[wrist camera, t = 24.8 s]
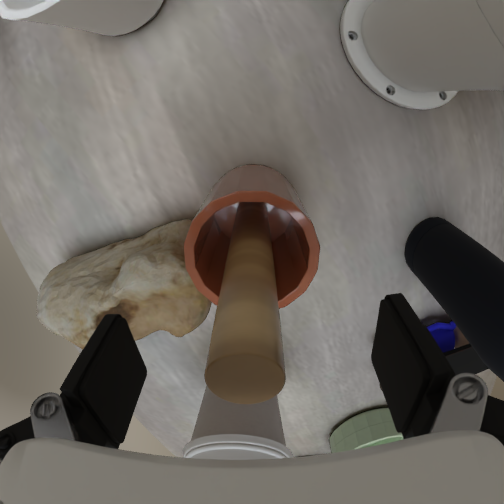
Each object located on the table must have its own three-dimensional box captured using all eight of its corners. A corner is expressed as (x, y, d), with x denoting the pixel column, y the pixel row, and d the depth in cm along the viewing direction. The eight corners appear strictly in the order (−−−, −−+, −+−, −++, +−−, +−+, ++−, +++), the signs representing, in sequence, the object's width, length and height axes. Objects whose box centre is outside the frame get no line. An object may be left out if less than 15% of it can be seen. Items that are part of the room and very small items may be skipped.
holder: (229, 150, 24) (211, 168, 15) (312, 186, 25) (343, 225, 16) (197, 229, 27) (168, 287, 18) (274, 260, 28) (282, 329, 19)
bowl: (361, 399, 37) (371, 432, 32) (420, 407, 39) (432, 435, 34) (313, 444, 42) (317, 474, 37) (372, 449, 44) (379, 475, 39)
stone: (154, 159, 24) (101, 184, 15) (241, 255, 28) (234, 322, 19) (60, 266, 29) (8, 316, 20) (131, 336, 33) (101, 401, 23)
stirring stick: (243, 192, 25) (220, 342, 8) (272, 204, 25) (300, 367, 9) (231, 219, 26) (194, 392, 9) (260, 231, 26) (264, 411, 10)
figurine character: (372, 361, 36) (472, 335, 32) (382, 407, 29) (492, 373, 26) (371, 323, 33) (479, 296, 30) (384, 371, 26) (506, 334, 23)
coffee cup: (297, 372, 34) (311, 484, 21) (229, 395, 36) (220, 499, 23) (259, 317, 31) (260, 446, 17) (184, 348, 33) (155, 463, 19)
